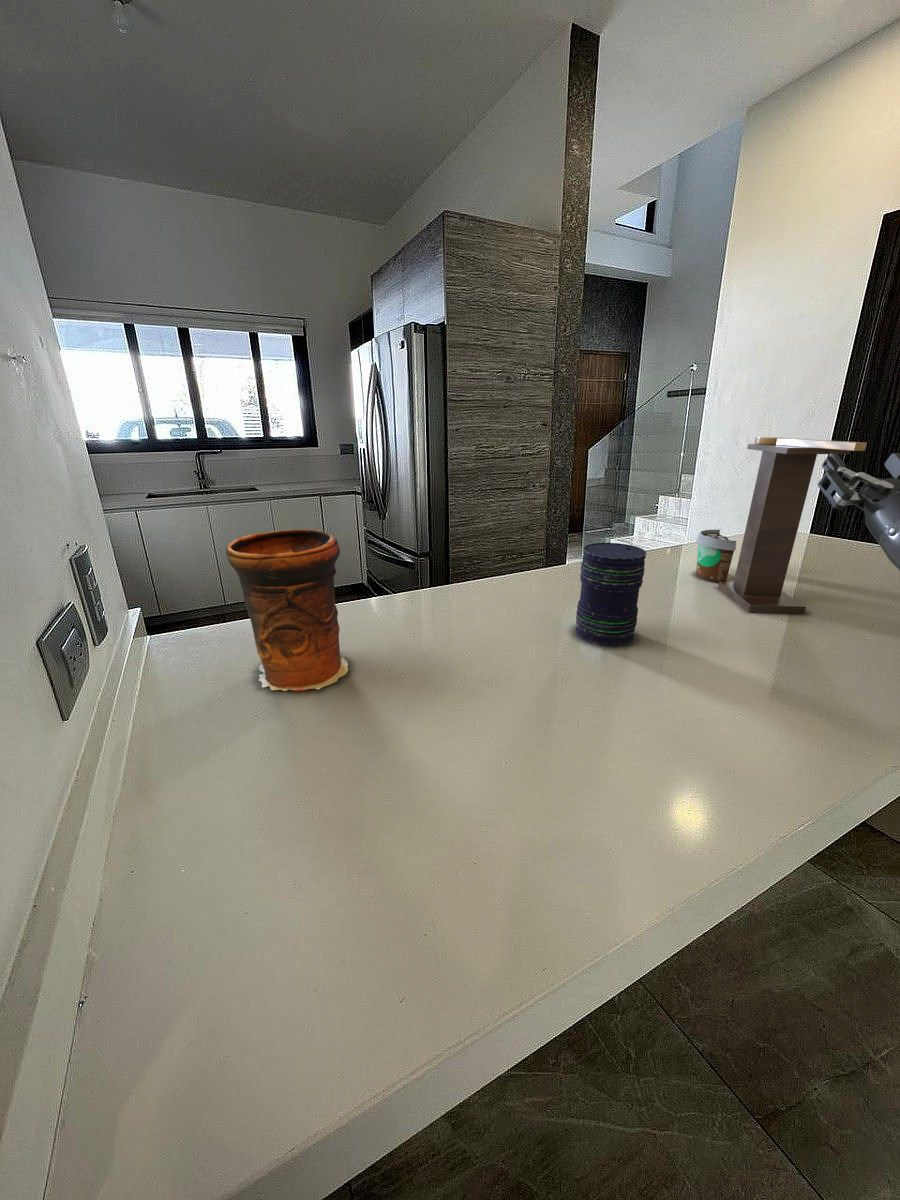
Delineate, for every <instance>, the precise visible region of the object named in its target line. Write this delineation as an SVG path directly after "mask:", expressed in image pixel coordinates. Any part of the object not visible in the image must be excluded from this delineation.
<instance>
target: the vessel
mask: <svg viewBox="0 0 900 1200" xmlns="http://www.w3.org/2000/svg"><path fill="white" fill-rule="evenodd" d="M225 554H226V558H227V561H228V563H229V565H230V566H231V568H233V570H234V571H235V572H236V574H237V576H238V579H239V580H238V581H239V583H240V584H239V585H240V587H241V590H242V595H243V601H244V605H245V608H246V611H247V614H248V617H249V620H250V625H251V628H252V632H253V636H254V637H253V638H254V644H255V647H256V653H257V654H258V657H259V658H260V661H261V663H260V664H259V666H258V669H259V671H260V672H261V674H259V675H258V676H259V678H258V681H259V682H261V688H267V687H269V689H270V690H271V691H280V690H281V691H283V692H286V691H288V690H291V691H297V692H299V691H307V690H320V689H321V690H322V688H323V687H327V686H330V685H332V684H334V683H337V682H338V680H339V678H342V677H344V676H345V675H347V673H348V671H349V663H348V661H347V659H345V658H344V656H341V650H340V649H341V647H340V624H339V621H338V617H339V610H338V608H337V605H336V595H335V594H336V591H335V589H336V588H335V575H336V574H337V570H336V562H337V561H338V559H339V558H340V557H339V556H340V555H341V549H340V545H339V542H338V540H337V538H336V537H335V536H334V535H333V534H330V533H328V532H325V531H323V530H320V529H311V528H310V529H309V528H299V529H281V530H280V529H279V530H275V531H274V530H273V531H269V532H260V533H253V534H248V535H245V536H239V537H237V538H235V539H233V540H232V541H231V542H230V543H229V544H228V545H226V548H225Z"/></svg>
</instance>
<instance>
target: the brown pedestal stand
mask: <svg viewBox="0 0 900 1200" xmlns="http://www.w3.org/2000/svg"><path fill="white" fill-rule="evenodd" d="M746 449H747V450H752V451H760V452H762V453H761V457H760V460H759V466H758V471H757V475H756V480H755V485H754V489H753V493H752V497H751V502H750V507H749V512H748V515H747V520H746V524H745V530H744V535H743V538H742V544H741V548H740V552H739V557H738V561H737V566H736V571H735V575H734V578H733V581H726V582H719V583H718V588H717V589H719V590H720V591H721V592H723V593H724V594H725V595H726V596H728V597H729V598H730V599H731V600H732V601H734V602H735V603H737V605H739V606H740V607H742V608H743V609H744V610H746V611H747V612H748V613H761V614H762V613H763V614H797V615H805V614H806V609H807V606H806V605H804V604H803V603H801V602H799V601H798V600H797V599H795V598H793V597H791V596H790V595H788V594H787V593H786V592H783V587H784V584H785V580H786V576H787V573H788V569H789V565H790V560H791V557H792V554H793V549H794V545H795V542H796V538H797V534H798V530H799V527H800V522H801V520H802V519H801V518H802V516H803V515H802V514H803V512H804V511H803V510H804V506H805V502H806V501H807V500H806V499H807V495H808V491H809V488H810V484H811V479H812V475H813V473H814V468H815V466H816V465H815V464H816V461H817V457H818V455H829V454H830V453H837V454H838V455H850V454H851V451H849V450H836V449H823V448H810V447H796V446H783V445H764V444H755V443H747V447H746Z"/></svg>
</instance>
